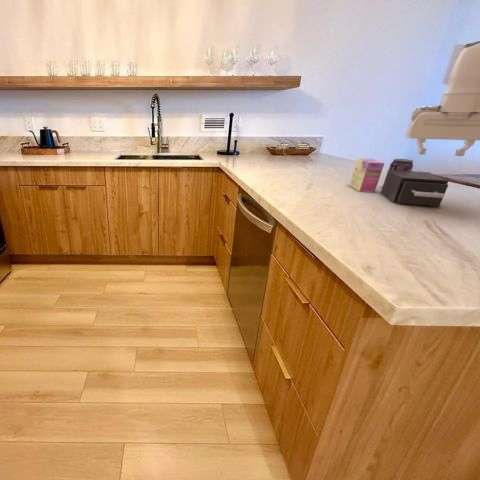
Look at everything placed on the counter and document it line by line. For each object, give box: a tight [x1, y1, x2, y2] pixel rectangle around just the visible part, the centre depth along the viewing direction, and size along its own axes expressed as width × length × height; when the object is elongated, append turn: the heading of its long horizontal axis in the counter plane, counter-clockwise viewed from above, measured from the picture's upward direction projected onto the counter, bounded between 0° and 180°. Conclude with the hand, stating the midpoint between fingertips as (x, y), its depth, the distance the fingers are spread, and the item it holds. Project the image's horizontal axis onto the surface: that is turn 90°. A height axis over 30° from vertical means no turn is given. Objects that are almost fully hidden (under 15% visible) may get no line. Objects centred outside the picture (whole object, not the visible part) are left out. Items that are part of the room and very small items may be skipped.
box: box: [348, 157, 385, 193], centre depth 116 cm, size 10×6×12 cm, turn 168°
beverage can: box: [388, 158, 414, 171], centre depth 115 cm, size 7×7×12 cm
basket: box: [397, 180, 449, 207], centre depth 99 cm, size 18×11×7 cm, turn 159°
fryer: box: [380, 169, 449, 208], centre depth 103 cm, size 15×13×9 cm
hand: (439, 155), depth 89 cm, fingers open, 8 cm apart
